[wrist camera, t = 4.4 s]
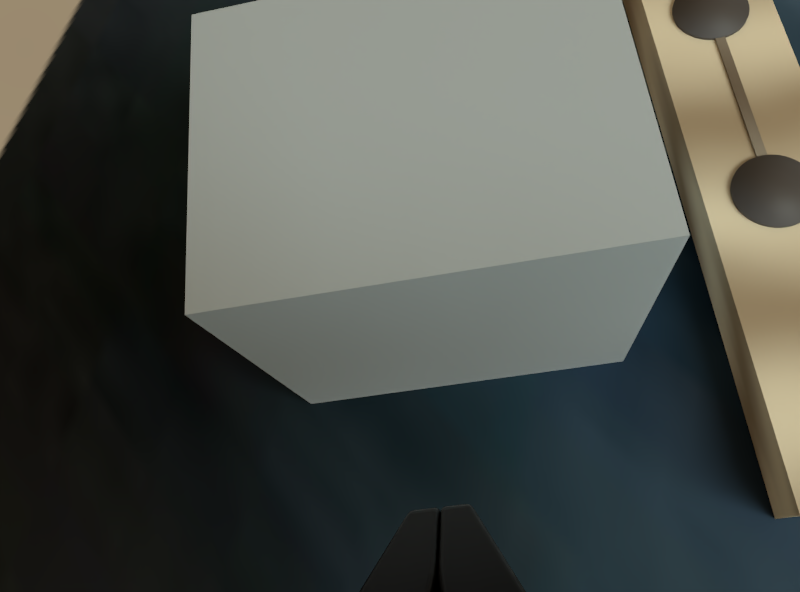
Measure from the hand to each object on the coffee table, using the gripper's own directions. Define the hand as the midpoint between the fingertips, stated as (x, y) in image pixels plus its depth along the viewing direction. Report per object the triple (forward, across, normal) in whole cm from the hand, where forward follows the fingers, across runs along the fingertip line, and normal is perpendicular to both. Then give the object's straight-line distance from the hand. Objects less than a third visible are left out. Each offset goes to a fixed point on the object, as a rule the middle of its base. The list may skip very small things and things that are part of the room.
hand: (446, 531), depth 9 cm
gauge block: (+14, 0, +2) cm, 14 cm away
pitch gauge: (+16, -10, 0) cm, 19 cm away
